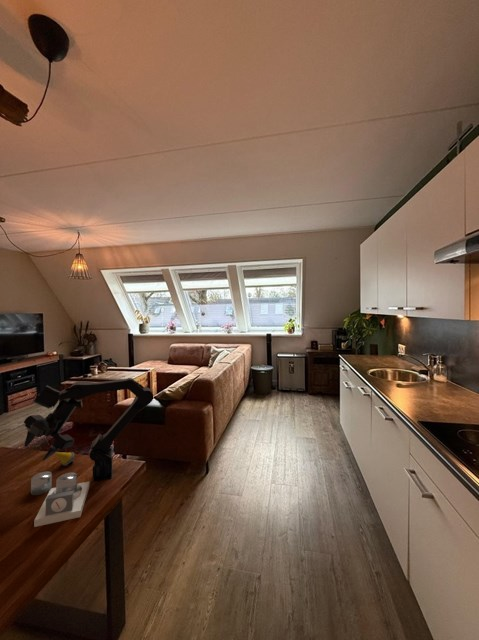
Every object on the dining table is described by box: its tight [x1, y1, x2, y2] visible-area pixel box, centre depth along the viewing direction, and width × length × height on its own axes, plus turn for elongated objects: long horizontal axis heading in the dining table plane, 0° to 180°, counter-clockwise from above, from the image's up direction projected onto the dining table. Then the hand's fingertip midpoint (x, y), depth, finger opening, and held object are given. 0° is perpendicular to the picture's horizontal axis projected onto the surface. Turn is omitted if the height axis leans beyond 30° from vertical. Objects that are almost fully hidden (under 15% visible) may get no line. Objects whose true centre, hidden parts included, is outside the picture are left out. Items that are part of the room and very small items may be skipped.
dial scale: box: [33, 481, 91, 528], centre depth 87 cm, size 12×16×7 cm
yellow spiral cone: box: [54, 451, 76, 467], centre depth 112 cm, size 5×5×10 cm
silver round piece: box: [55, 471, 78, 494], centre depth 89 cm, size 6×6×5 cm
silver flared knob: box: [30, 471, 53, 496], centre depth 95 cm, size 6×6×5 cm
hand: (34, 453), depth 95 cm, fingers open, 9 cm apart
